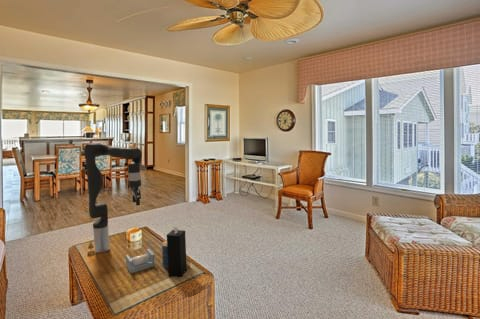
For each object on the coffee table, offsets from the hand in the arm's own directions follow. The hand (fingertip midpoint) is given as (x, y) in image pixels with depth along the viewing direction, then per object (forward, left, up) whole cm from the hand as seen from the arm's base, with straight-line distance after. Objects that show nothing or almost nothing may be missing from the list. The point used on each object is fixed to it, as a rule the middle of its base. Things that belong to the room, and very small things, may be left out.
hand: (136, 203), depth 168 cm
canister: (+23, +14, -36) cm, 45 cm away
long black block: (+35, +12, -36) cm, 52 cm away
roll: (+15, -3, -35) cm, 38 cm away
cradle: (+13, -3, -36) cm, 38 cm away
